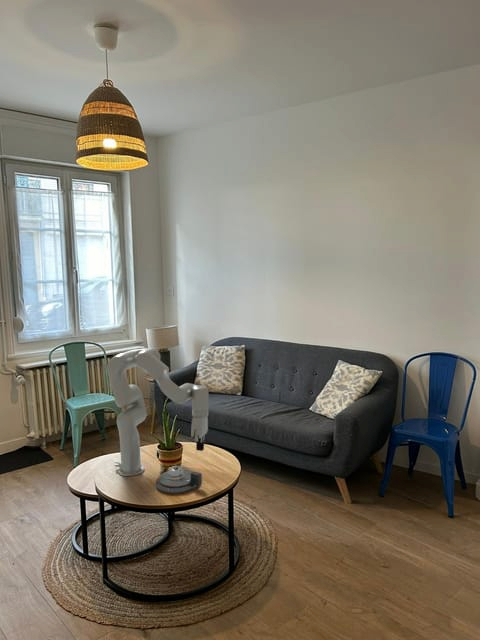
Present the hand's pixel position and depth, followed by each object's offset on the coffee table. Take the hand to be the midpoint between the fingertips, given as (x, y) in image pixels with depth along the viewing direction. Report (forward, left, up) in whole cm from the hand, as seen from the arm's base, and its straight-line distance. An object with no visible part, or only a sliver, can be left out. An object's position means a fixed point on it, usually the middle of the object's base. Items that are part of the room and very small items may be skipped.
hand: (200, 449), depth 225 cm
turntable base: (-9, -7, -15) cm, 19 cm away
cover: (-9, -8, -11) cm, 16 cm away
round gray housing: (-8, -8, -12) cm, 17 cm away
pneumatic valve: (-20, +8, -15) cm, 26 cm away
